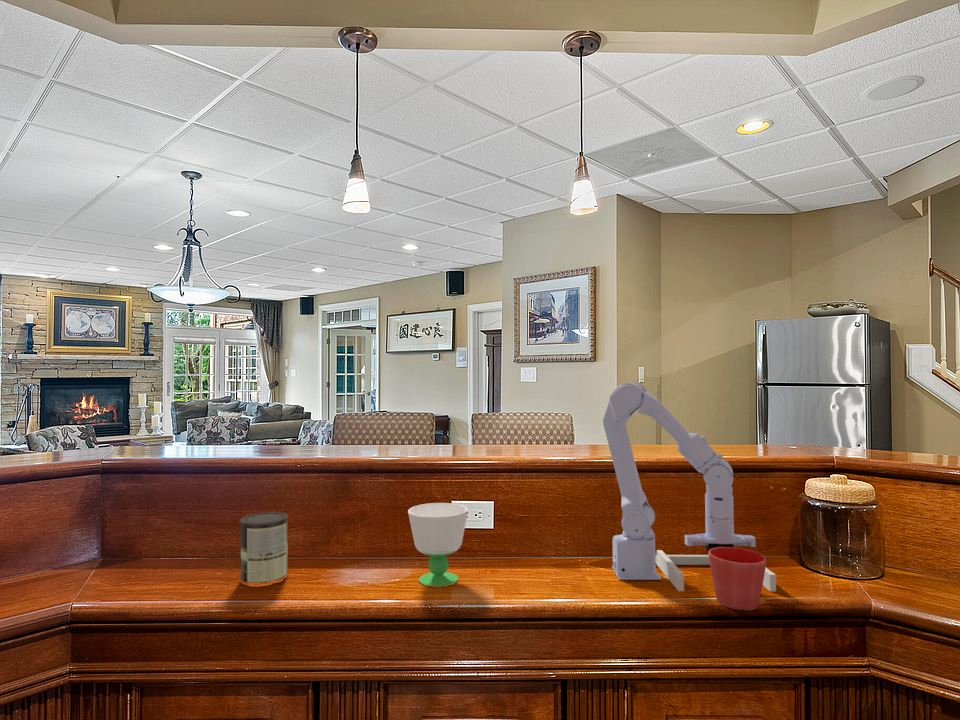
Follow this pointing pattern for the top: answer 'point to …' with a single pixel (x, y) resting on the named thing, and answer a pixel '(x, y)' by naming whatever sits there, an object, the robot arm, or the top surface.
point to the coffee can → (264, 547)
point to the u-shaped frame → (677, 577)
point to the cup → (438, 537)
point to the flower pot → (737, 576)
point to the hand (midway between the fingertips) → (720, 578)
